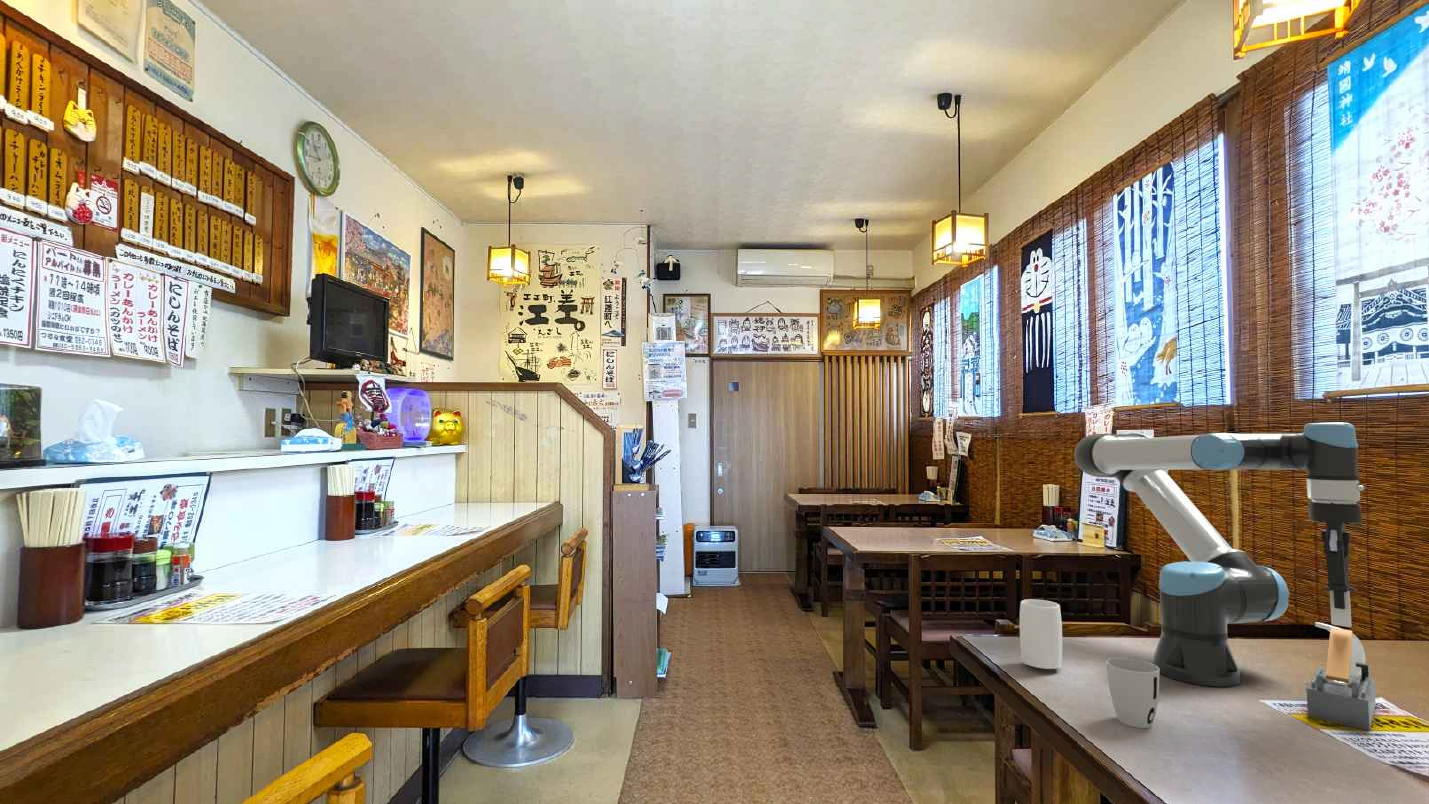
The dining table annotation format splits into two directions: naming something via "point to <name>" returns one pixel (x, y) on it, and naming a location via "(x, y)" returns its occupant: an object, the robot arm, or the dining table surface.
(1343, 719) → the block
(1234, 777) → the dining table surface
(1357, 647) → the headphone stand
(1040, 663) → the cup
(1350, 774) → the dining table surface
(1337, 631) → the tan flat bar
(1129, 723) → the cup
